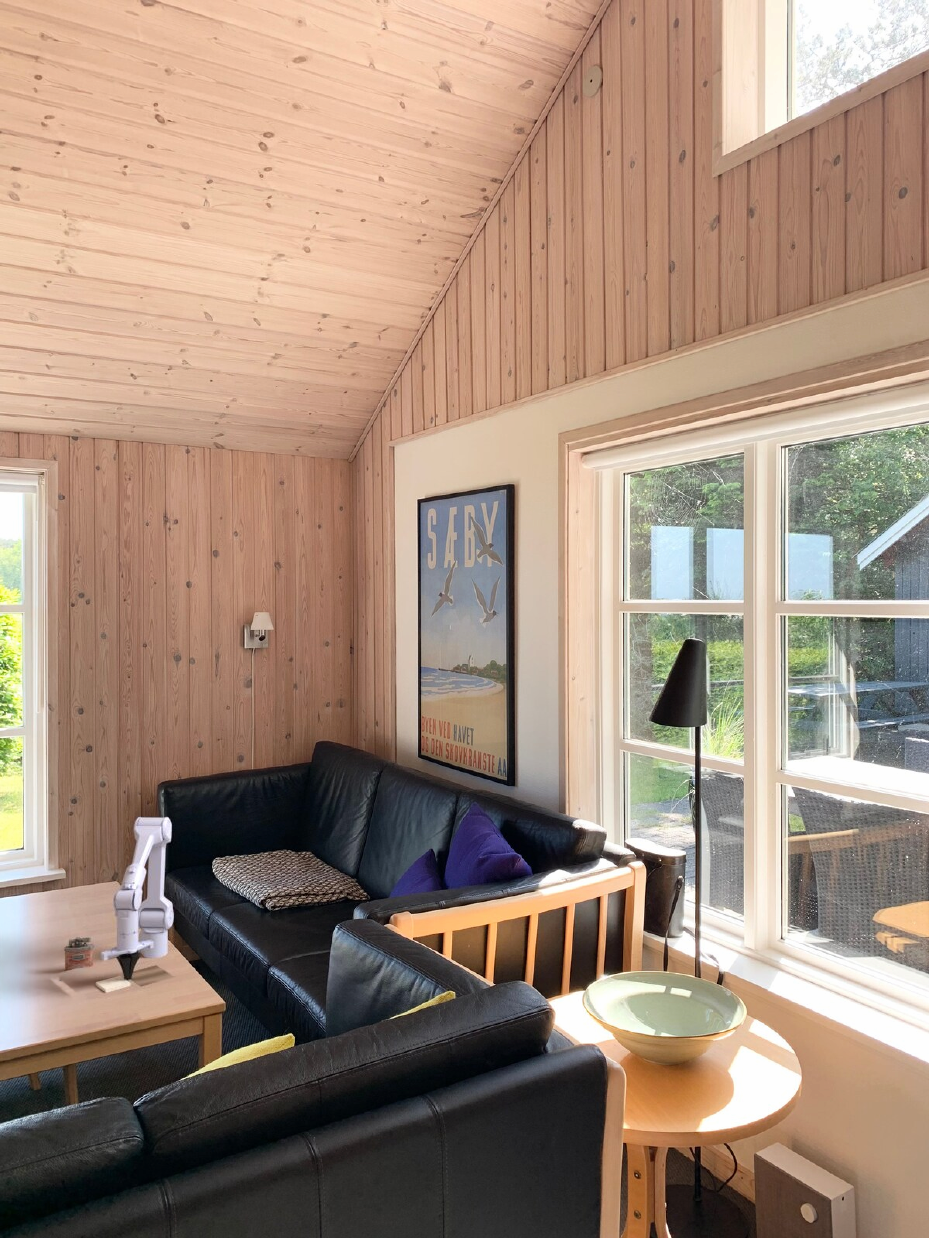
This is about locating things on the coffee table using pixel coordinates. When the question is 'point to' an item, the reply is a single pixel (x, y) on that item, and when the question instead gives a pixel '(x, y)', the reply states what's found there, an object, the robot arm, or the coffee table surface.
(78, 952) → the lighter
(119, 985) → the cream flat block
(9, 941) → the coffee table surface
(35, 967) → the coffee table surface
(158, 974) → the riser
